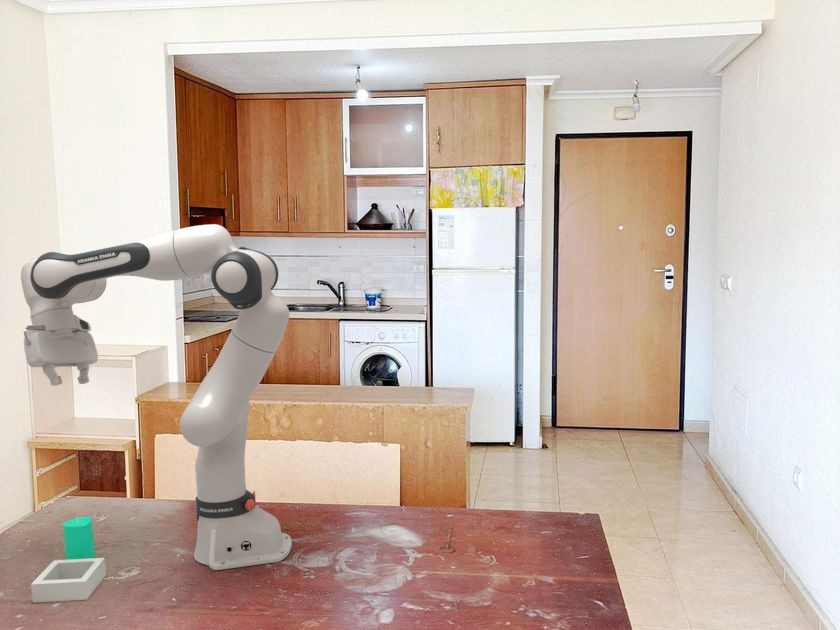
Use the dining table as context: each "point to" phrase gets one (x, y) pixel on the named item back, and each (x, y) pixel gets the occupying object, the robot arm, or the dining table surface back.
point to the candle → (79, 538)
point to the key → (447, 538)
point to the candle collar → (68, 580)
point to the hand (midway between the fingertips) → (71, 384)
